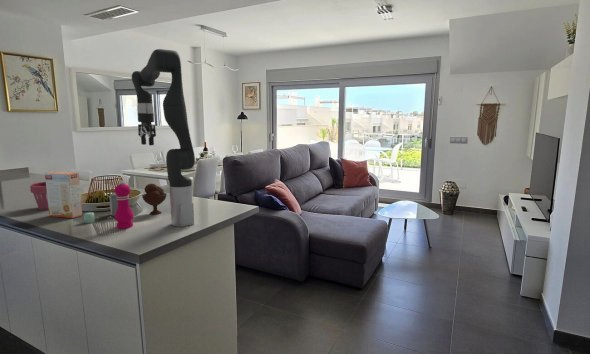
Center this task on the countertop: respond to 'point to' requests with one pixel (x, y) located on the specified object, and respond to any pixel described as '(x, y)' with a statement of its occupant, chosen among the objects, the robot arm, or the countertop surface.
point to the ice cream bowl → (154, 197)
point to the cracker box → (63, 194)
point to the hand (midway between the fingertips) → (147, 144)
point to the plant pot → (40, 195)
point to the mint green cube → (89, 217)
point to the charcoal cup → (113, 203)
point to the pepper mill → (123, 206)
